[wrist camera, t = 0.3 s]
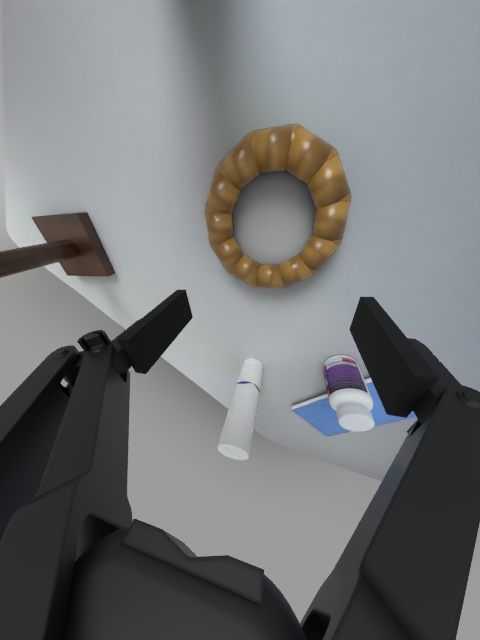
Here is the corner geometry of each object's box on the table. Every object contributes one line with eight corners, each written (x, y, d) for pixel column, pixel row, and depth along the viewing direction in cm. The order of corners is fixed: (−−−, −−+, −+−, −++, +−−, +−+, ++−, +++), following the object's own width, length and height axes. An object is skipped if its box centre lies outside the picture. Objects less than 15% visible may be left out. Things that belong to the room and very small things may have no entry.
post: (42, 216, 28) (-117, 227, 17) (86, 212, 26) (-62, 223, 15) (75, 272, 33) (-32, 309, 22) (115, 273, 31) (18, 314, 20)
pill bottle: (315, 362, 31) (323, 417, 23) (346, 348, 28) (367, 406, 20) (333, 380, 32) (347, 437, 25) (364, 369, 30) (390, 430, 22)
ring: (201, 144, 19) (188, 136, 16) (364, 117, 15) (378, 103, 13) (220, 281, 27) (213, 289, 24) (328, 284, 23) (332, 294, 21)
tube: (257, 376, 37) (241, 462, 25) (239, 367, 37) (213, 450, 25) (267, 364, 34) (254, 454, 22) (247, 354, 34) (223, 440, 22)
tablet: (382, 369, 29) (386, 375, 28) (423, 410, 31) (427, 417, 30) (288, 403, 39) (288, 409, 38) (325, 431, 42) (326, 438, 41)
